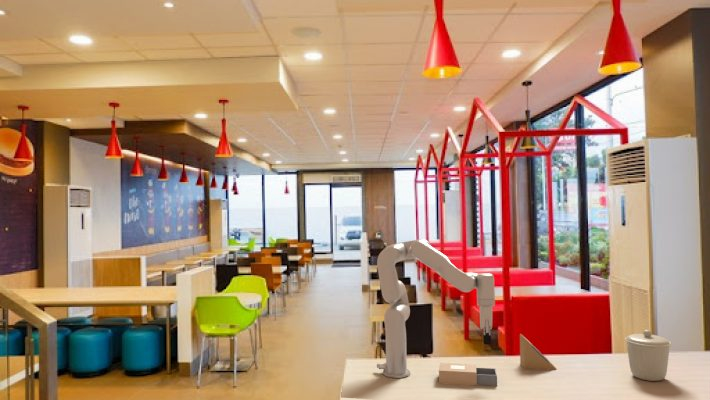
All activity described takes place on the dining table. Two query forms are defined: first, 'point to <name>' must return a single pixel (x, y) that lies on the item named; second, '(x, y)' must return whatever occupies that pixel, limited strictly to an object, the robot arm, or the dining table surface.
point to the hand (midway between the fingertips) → (487, 343)
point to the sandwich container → (533, 357)
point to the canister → (648, 355)
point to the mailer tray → (486, 376)
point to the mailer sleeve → (457, 374)
